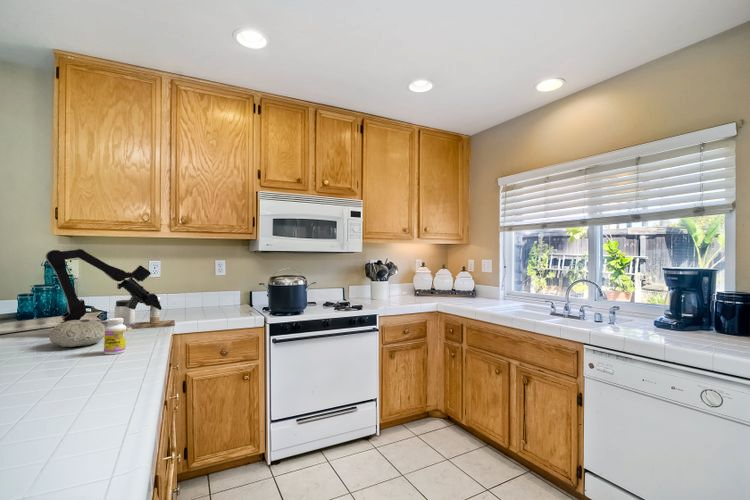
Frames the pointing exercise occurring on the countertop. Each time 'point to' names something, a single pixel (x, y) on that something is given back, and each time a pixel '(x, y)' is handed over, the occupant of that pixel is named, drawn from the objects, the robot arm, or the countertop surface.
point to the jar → (124, 312)
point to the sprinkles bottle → (154, 314)
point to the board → (160, 324)
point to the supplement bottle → (115, 337)
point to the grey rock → (77, 333)
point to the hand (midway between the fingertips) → (158, 308)
